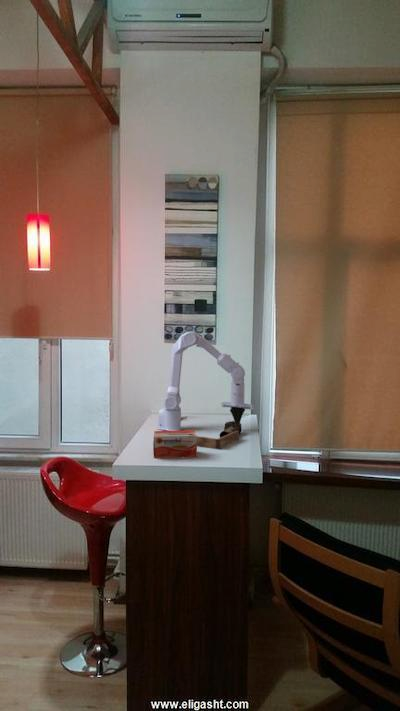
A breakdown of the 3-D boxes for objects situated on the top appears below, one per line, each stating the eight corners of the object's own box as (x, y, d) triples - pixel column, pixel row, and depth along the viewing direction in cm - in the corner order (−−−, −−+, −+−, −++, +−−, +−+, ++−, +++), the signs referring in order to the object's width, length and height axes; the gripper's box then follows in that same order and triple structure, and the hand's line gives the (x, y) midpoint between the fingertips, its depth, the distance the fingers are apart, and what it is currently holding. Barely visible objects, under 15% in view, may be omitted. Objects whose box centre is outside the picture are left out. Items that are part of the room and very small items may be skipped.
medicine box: (153, 458, 168) (153, 435, 168) (153, 452, 176) (153, 430, 176) (197, 457, 170) (197, 435, 169) (195, 451, 178) (195, 430, 177)
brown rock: (231, 442, 193) (230, 428, 193) (214, 441, 195) (214, 427, 195) (244, 433, 209) (244, 420, 209) (229, 431, 212) (229, 418, 211)
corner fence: (188, 444, 187) (188, 435, 187) (209, 435, 203) (209, 427, 203) (218, 449, 181) (219, 439, 181) (238, 439, 196) (238, 430, 196)
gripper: (218, 393, 212) (218, 424, 212) (249, 396, 205) (249, 428, 205) (225, 391, 218) (225, 421, 219) (256, 394, 211) (255, 425, 212)
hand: (237, 424), depth 212 cm, fingers closed
